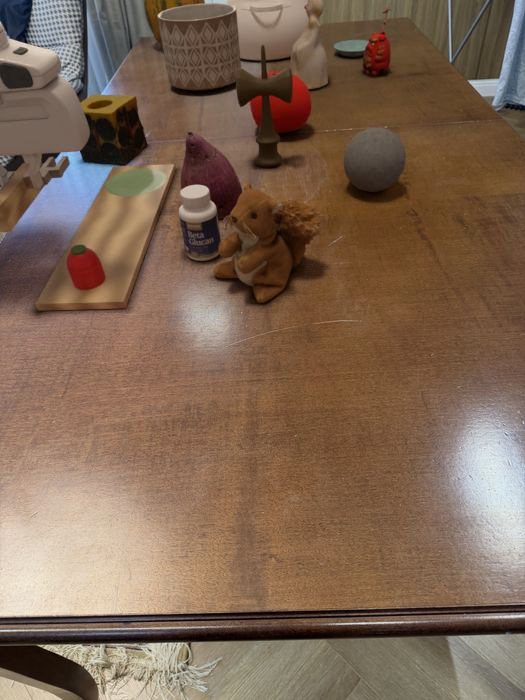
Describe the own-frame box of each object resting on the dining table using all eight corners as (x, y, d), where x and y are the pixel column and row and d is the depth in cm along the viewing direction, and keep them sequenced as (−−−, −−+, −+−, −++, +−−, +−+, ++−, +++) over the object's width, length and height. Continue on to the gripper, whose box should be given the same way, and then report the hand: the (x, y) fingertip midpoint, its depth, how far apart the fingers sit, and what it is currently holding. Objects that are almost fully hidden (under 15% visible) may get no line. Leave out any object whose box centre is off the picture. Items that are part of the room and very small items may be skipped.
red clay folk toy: (356, 71, 134) (361, 4, 124) (379, 66, 136) (385, 0, 126) (372, 78, 129) (378, 9, 119) (395, 73, 131) (403, 5, 121)
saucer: (381, 56, 143) (381, 47, 142) (342, 61, 142) (342, 52, 140) (364, 46, 152) (364, 37, 150) (327, 51, 150) (327, 43, 148)
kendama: (245, 157, 99) (235, 41, 85) (294, 156, 98) (292, 38, 84) (242, 171, 95) (231, 51, 81) (293, 169, 94) (291, 47, 80)
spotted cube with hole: (148, 145, 106) (137, 95, 99) (125, 166, 100) (112, 113, 93) (106, 142, 109) (93, 93, 102) (81, 162, 102) (65, 110, 95)
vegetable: (210, 243, 83) (183, 169, 70) (175, 213, 88) (144, 140, 75) (258, 207, 85) (240, 130, 73) (222, 180, 90) (199, 104, 78)
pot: (228, 42, 165) (222, -19, 153) (309, 37, 164) (309, -26, 152) (222, 68, 144) (215, -1, 133) (315, 61, 143) (315, -8, 132)
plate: (99, 204, 89) (97, 197, 88) (114, 175, 97) (113, 169, 96) (162, 201, 88) (160, 195, 87) (172, 173, 96) (171, 167, 95)
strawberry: (69, 290, 68) (56, 258, 65) (78, 271, 72) (67, 240, 68) (100, 289, 68) (89, 257, 65) (109, 270, 71) (98, 239, 68)
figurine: (286, 78, 134) (284, -14, 120) (325, 75, 134) (327, -17, 120) (289, 92, 125) (287, -5, 112) (331, 89, 125) (334, -8, 111)
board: (38, 310, 68) (35, 303, 67) (114, 172, 98) (113, 166, 97) (125, 308, 67) (123, 301, 66) (175, 169, 97) (174, 163, 96)
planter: (255, 76, 137) (250, 4, 125) (218, 99, 125) (209, 22, 113) (195, 71, 144) (186, 2, 132) (155, 92, 132) (141, 18, 120)
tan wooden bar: (24, 231, 59) (12, 206, 57) (-17, 233, 59) (-30, 208, 57) (71, 163, 72) (63, 141, 70) (37, 165, 73) (29, 143, 70)
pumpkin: (141, 53, 161) (121, -45, 144) (171, 38, 174) (156, -54, 156) (191, 56, 155) (177, -46, 138) (219, 40, 168) (209, -56, 150)
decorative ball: (413, 191, 85) (423, 131, 78) (366, 208, 82) (371, 147, 75) (376, 170, 91) (381, 113, 84) (330, 185, 88) (333, 127, 81)
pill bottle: (189, 265, 73) (178, 203, 66) (183, 246, 77) (171, 186, 70) (225, 257, 74) (217, 195, 67) (217, 239, 78) (209, 179, 71)
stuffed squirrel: (208, 277, 71) (194, 189, 62) (286, 240, 76) (283, 155, 67) (250, 311, 65) (241, 219, 56) (331, 269, 70) (335, 179, 61)
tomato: (295, 115, 114) (294, 59, 106) (319, 137, 104) (320, 76, 96) (243, 125, 111) (238, 68, 103) (263, 148, 102) (259, 86, 94)
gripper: (-136, 82, 53) (-67, 203, 62) (53, 68, 51) (94, 194, 61) (-103, 65, 57) (-44, 181, 67) (72, 52, 56) (107, 172, 66)
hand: (23, 187), depth 64 cm, fingers closed on tan wooden bar, 2 cm apart
